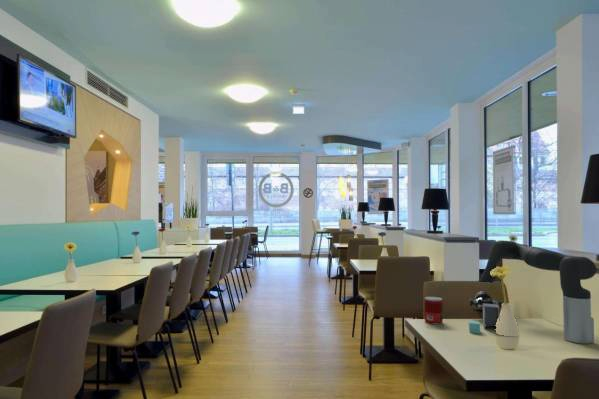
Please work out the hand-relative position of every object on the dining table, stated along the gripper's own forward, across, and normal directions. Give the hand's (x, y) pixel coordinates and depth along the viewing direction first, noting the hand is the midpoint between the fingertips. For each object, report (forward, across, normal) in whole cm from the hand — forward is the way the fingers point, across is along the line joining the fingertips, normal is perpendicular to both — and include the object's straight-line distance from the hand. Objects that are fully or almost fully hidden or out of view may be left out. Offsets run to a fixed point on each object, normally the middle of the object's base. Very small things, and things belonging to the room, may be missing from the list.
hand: (487, 305), depth 192 cm
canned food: (+8, -24, +8) cm, 27 cm away
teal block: (+20, -7, +8) cm, 22 cm away
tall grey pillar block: (+11, 0, +8) cm, 13 cm away
